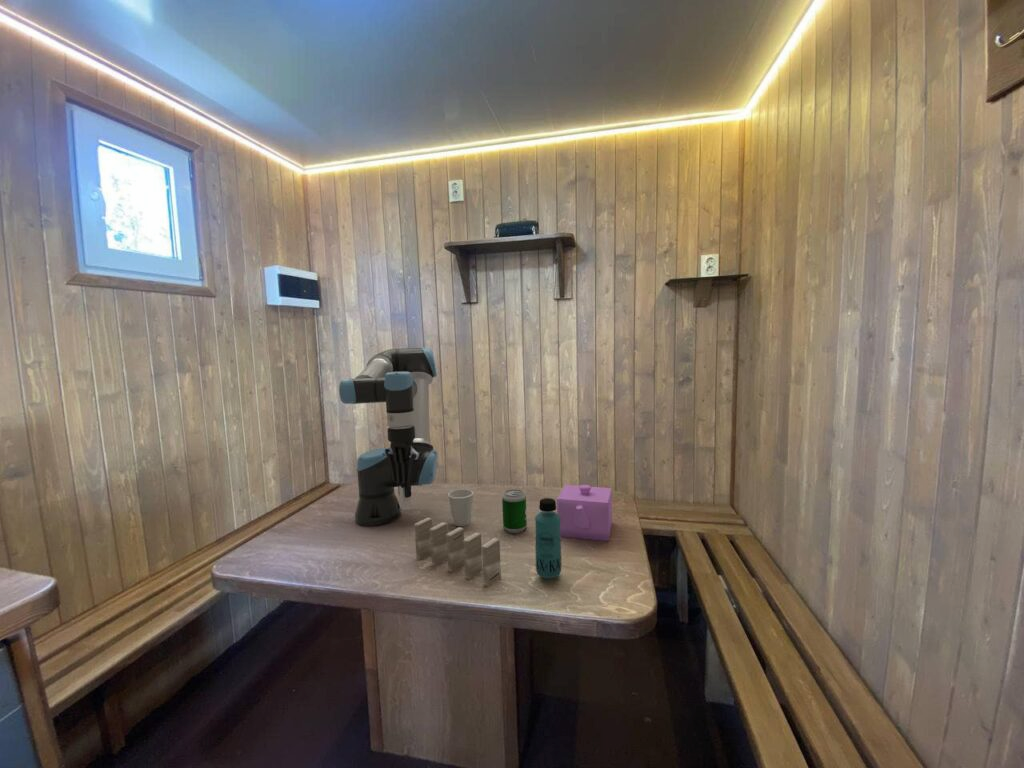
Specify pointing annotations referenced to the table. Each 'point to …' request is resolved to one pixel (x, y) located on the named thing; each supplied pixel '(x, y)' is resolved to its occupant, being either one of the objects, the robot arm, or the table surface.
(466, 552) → the domino
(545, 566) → the beverage bottle
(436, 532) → the domino
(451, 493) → the dixie cup
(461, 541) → the domino
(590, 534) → the purple lidded box
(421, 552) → the domino
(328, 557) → the table surface
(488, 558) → the domino
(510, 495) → the soda can
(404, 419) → the robot arm
